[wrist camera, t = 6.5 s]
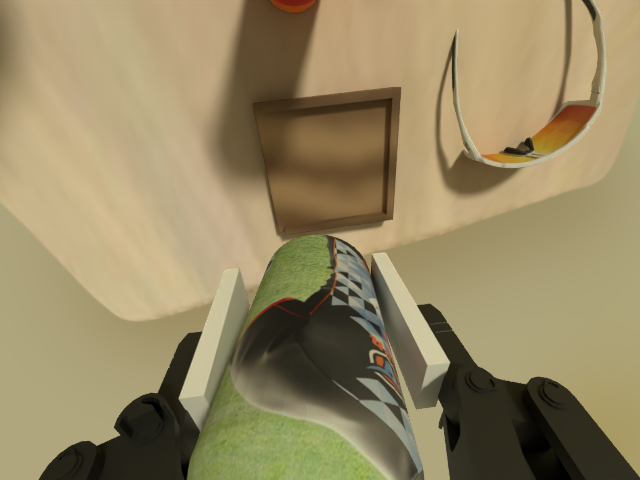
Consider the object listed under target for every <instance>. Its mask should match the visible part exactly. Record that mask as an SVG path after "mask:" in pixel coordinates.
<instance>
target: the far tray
mask: <svg viewBox="0 0 640 480" xmlns="http://www.w3.org/2000/svg"><path fill="white" fill-rule="evenodd" d="M400 98H401V87H390V88H381V89H373V90H364V91H355V92H347V93H338V94H329V95H321V96H312V97H303V98H295V99H286V100H277V101H269V102H260V103H253V108H254V113H255V117H256V122H257V127H258V132H259V137H260V142H261V146H262V151H263V156H264V161H265V166H266V170H267V175H268V180H269V185H270V190H271V195H272V199H273V204H274V209H275V214H276V219H277V223H278V228H279V232H284V231H285V233H286V234H293V233H300V232H308V231H315V230H322V229H329V228H336V227H343V226H350V225H357V224H364V223H371V222H379V221H386V220H393V211H394V195H395V178H396V162H397V146H398V130H399V114H400Z"/></svg>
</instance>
